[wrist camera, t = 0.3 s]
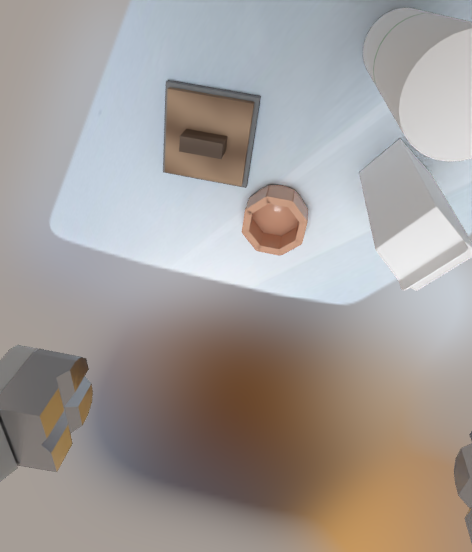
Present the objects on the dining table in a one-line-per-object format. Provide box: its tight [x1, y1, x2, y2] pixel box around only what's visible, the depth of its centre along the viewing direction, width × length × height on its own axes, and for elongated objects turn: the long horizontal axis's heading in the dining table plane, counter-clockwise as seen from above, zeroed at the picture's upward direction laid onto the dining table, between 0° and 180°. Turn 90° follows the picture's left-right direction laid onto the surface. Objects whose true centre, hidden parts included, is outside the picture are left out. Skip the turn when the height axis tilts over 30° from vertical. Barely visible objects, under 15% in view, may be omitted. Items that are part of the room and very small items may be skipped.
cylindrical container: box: [363, 8, 472, 162], centre depth 34 cm, size 7×7×25 cm
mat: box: [163, 80, 261, 188], centre depth 52 cm, size 11×11×1 cm
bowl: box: [242, 185, 308, 255], centre depth 55 cm, size 8×8×5 cm
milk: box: [359, 139, 472, 291], centre depth 43 cm, size 6×6×22 cm
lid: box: [165, 87, 255, 186], centre depth 50 cm, size 10×10×4 cm
